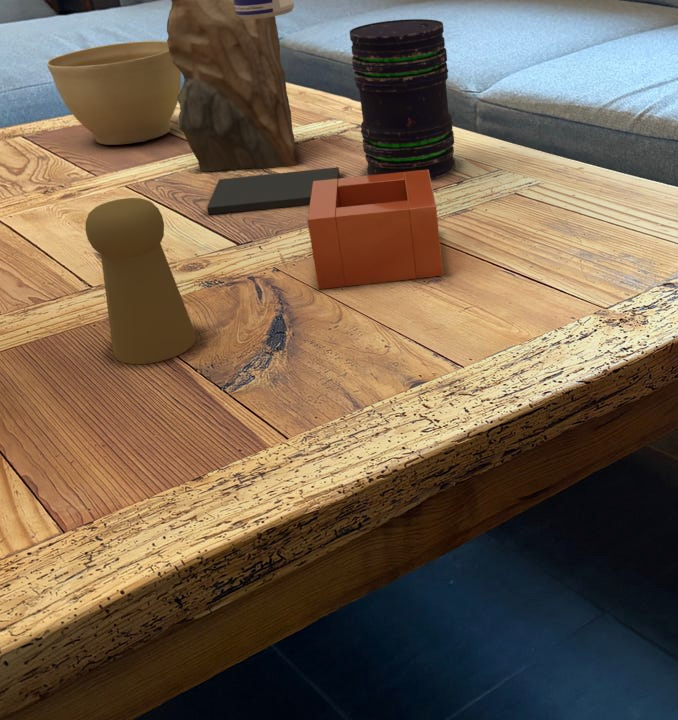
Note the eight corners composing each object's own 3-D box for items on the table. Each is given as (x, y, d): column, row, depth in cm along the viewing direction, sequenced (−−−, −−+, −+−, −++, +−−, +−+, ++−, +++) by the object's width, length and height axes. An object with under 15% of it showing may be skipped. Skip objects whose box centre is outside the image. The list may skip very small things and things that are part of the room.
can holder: (318, 289, 80) (307, 219, 78) (322, 245, 89) (312, 181, 87) (443, 275, 81) (436, 206, 78) (434, 233, 90) (428, 169, 87)
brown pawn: (188, 320, 77) (156, 183, 72) (204, 350, 72) (171, 205, 67) (108, 339, 75) (69, 200, 70) (118, 372, 70) (77, 225, 65)
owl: (186, 174, 113) (146, -11, 104) (212, 144, 124) (178, -26, 115) (295, 166, 113) (265, -20, 103) (312, 136, 124) (286, -34, 114)
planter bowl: (175, 114, 140) (158, 35, 135) (211, 136, 128) (194, 49, 123) (58, 137, 133) (35, 54, 128) (84, 162, 121) (60, 71, 116)
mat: (208, 215, 99) (206, 207, 99) (220, 186, 108) (218, 179, 108) (337, 201, 100) (336, 194, 100) (339, 174, 109) (338, 167, 108)
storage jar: (375, 188, 103) (357, 40, 96) (358, 164, 111) (340, 26, 104) (467, 174, 105) (455, 28, 98) (444, 151, 114) (431, 15, 107)
